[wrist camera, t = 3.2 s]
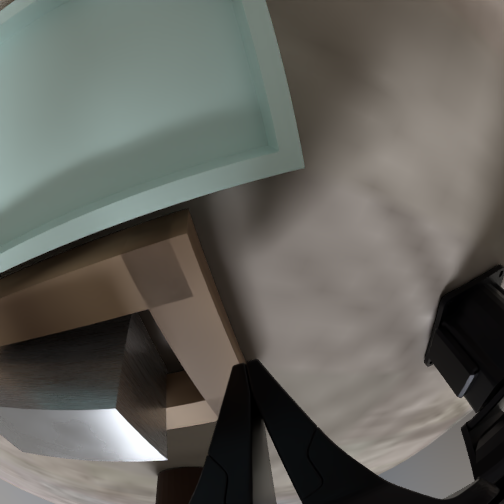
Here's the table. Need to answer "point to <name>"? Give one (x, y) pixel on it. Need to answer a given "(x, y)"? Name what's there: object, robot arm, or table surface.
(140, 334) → the grey rectangular block
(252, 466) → the robot arm
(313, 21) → the table surface
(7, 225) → the pale teal tray
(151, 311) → the socket
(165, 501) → the coffee mug
